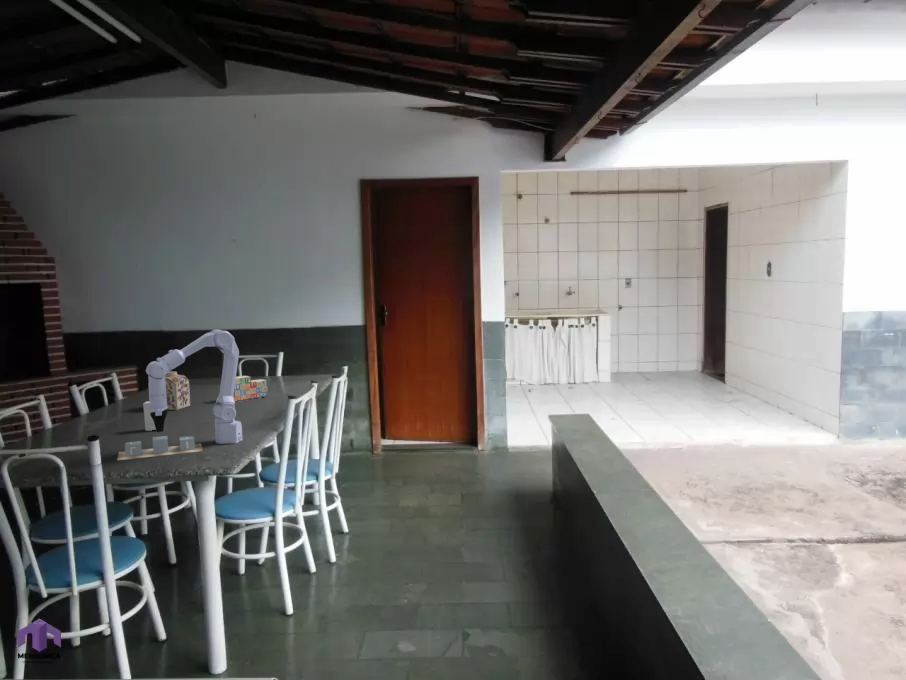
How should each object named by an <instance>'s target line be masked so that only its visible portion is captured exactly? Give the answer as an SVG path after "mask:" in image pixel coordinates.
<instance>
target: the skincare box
mask: <svg viewBox="0 0 906 680" xmlns="http://www.w3.org/2000/svg"><path fill="white" fill-rule="evenodd" d="M142 406H143V416H144V417H143V418H144V427H145V428H144V429H145V432H149V431H151V432H153V431H152V430H156V428H155V424H154V421H153V419H152V417H151V416H150V413H151V412H154V411H151V410H146V407H150V402H149V401H145V402H143V404H142Z"/></svg>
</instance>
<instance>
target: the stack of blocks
mask: <svg viewBox="0 0 906 680" xmlns="http://www.w3.org/2000/svg"><path fill="white" fill-rule="evenodd" d="M268 393H269V392H268V380H267V379H263V378H262V379H252V377H251V376H249V375H239V376H238V375H237V376H236V380H235V387H234V395H233V398H234V401H237V400H243V399H248V398H254V397H260V396H265V395H268ZM268 396H269V395H268Z"/></svg>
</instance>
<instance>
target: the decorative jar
mask: <svg viewBox="0 0 906 680" xmlns="http://www.w3.org/2000/svg"><path fill="white" fill-rule="evenodd" d="M165 382H166V396H167V406H168V408H167V409H165V410H166V411H179V410H182V409H185V408H187V407H190V406H191V395H190V394H191V393H190V392H191V390H190V379H188V378H187V376H185V375H184V374H178V372H177V371H169V372H168V371H167V374H166V376H165Z"/></svg>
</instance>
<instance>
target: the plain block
mask: <svg viewBox="0 0 906 680" xmlns="http://www.w3.org/2000/svg"><path fill="white" fill-rule="evenodd" d="M168 447H169V438H168V435H162V436H153V437H152V448H153V454H157V453H166V452H168Z"/></svg>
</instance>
